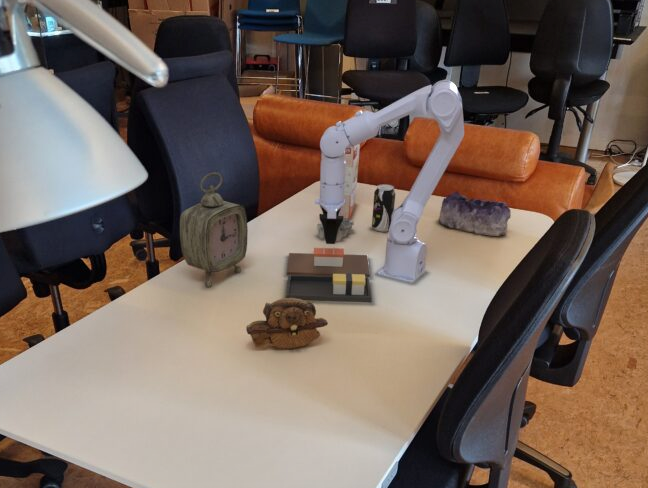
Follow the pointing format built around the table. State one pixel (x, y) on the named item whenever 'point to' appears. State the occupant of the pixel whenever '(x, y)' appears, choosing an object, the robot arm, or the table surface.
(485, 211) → the geode
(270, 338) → the wooden carving
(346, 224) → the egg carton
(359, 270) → the serving board
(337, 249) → the salmon nigiri
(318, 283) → the sushi tray
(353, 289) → the tamago nigiri
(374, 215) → the beverage can
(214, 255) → the tabletop clock
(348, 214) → the cracker box
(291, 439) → the table surface
